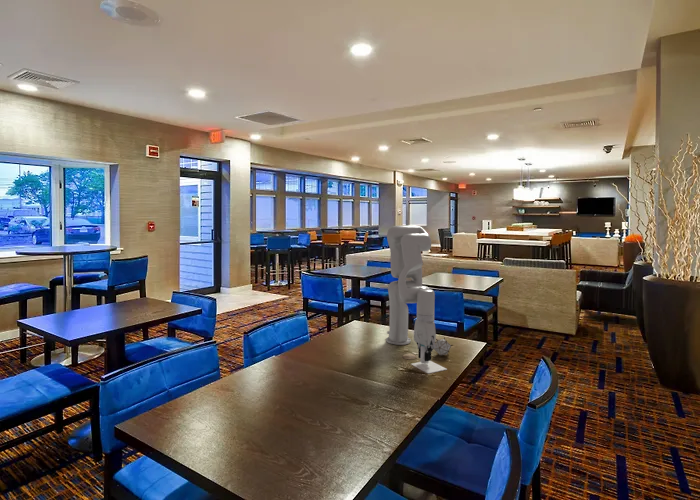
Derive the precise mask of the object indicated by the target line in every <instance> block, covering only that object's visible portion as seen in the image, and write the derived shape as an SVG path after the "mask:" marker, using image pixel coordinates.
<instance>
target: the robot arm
mask: <svg viewBox="0 0 700 500" xmlns="http://www.w3.org/2000/svg"><path fill="white" fill-rule="evenodd" d="M386 238H387V243H388V247H389V250H390V251H389V252H390V273H391V276H392V278H395V279H398V280H394V281H391V282H390V283H388V287H387V292H388V299H389V328H388V329H389V330H387V331H386V334H388V337H387V338H386V340H385V342H387V343H388V344H390V345H396V346H405V345H409V344H411V341H412V339H411V338H410V337H409V307H408V304H416V319H415V321H414V327H413V329H414V330H413V341H414V342H415V343H416V344H417V349H418V355H417V356H418V359H420V357H421V344H422V345H424V346H425V349H426V352H425V361H432V352H433V350H434V349H435V348H436V345H435V344H436V343H435V342H436V341H437V340H436V339H437V338H436V337H437V333H436V324H435V323H436V322H435V302H436V301H435V299H436V296H435V295H436V293H435V291H434V290H433V289H431V288H430V287H428V286H426V285H423V268H422V267H423V265H424V263H423V257H422V253H421V252H428V251H429V250H431V248H432V239H431V236H430V234H429V233H428V232H427V231H426V230H425V229H424V228H423V227H422V226H420V225H393V226H390V227H389V228H388V229H387V233H386ZM406 279H409V280H406ZM410 279H411V280H410ZM428 346H429V348H428Z"/></svg>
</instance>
